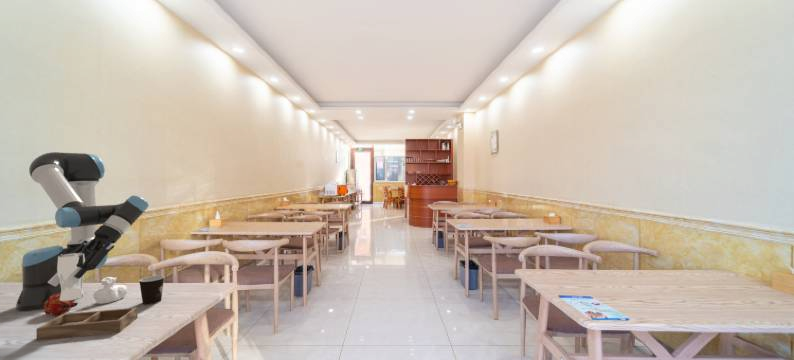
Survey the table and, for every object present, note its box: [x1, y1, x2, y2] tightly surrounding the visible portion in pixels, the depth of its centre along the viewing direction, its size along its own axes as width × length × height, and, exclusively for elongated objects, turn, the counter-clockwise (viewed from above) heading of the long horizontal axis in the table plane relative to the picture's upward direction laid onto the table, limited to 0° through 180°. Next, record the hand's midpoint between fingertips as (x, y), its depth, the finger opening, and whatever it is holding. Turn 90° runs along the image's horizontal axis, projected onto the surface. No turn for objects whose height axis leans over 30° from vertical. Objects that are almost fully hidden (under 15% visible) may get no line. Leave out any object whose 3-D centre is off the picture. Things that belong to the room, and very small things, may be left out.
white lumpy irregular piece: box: [92, 276, 128, 305], centre depth 143 cm, size 12×8×11 cm
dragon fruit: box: [43, 293, 78, 317], centre depth 129 cm, size 8×8×12 cm
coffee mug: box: [138, 275, 165, 306], centre depth 143 cm, size 12×9×10 cm
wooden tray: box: [36, 307, 138, 342], centre depth 116 cm, size 12×23×4 cm, turn 105°
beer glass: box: [57, 253, 85, 301], centre depth 115 cm, size 7×7×15 cm
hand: (59, 285), depth 111 cm, fingers closed on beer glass, 7 cm apart
